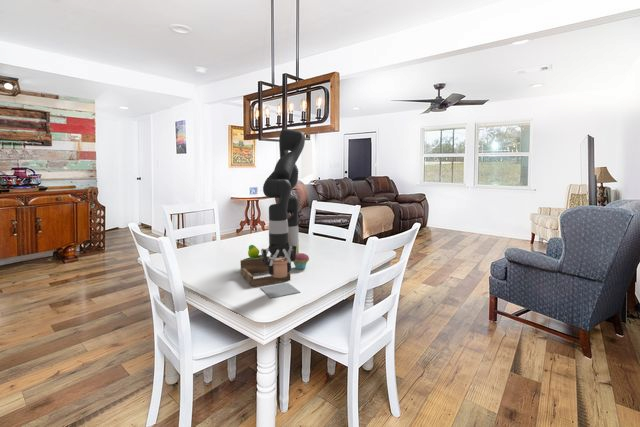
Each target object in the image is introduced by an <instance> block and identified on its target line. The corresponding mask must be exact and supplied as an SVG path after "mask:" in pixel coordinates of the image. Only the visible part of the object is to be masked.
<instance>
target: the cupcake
mask: <svg viewBox="0 0 640 427" xmlns="http://www.w3.org/2000/svg"><path fill="white" fill-rule="evenodd" d="M296 247H297V253H298V254H296V258H295V261H292V262H291V263H293V264H294V267H295V269H297V270H304V269H306V267H307V263H308V262H309V260H310V256H309V255H308V254H306V253H301V252H300V250H299V251H298V245H297V243H296Z"/></svg>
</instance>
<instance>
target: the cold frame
mask: <svg viewBox="0 0 640 427" xmlns="http://www.w3.org/2000/svg"><path fill="white" fill-rule="evenodd" d="M269 257H270V255H269V256H268V257H267V260H269ZM263 272H264V273H268V265H265V264H264V263H263V260H262V257H261V258H254V259H247V260H243V259H240V276H241V275H242V276H241V277H242V278H243V279H244V280H245V281H246V282H247V283H248V285H249V286H251V287H252V288H253V287H258V286H264V285H270V284H276V283H282V282H286V281H291V273H290V272H287V274H288V275H287V276H286V277H282V278H275V277H273V276H272V275H267V276H260V277H255V278H254V276H253V275H255V274H256V275H257V274H262V273H263ZM264 273H263V274H264Z"/></svg>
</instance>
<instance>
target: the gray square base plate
mask: <svg viewBox="0 0 640 427" xmlns="http://www.w3.org/2000/svg"><path fill="white" fill-rule="evenodd" d="M260 289H261V291H262V292H264V293H265V295H267V296H268V297H269V298H270V299H274V298H279V297H284V296H290V295H296V294H300V293H301V291H300V290H298V289H297V288H296V287H294V285H292V284H291V283H290V282H285V283H279V284H278V283H277V284H274V285H269V286H267V285H266V286H262V287H260Z"/></svg>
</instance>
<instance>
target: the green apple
mask: <svg viewBox="0 0 640 427" xmlns="http://www.w3.org/2000/svg"><path fill="white" fill-rule="evenodd" d="M259 253H260V250H259V248H258V247H257V246H256V245H254V244H250V245H248V251H247V254H248V257H246V258H244V259H242V260H247V259H254V258H261V257H262V254H259ZM267 257H269V256H268V255H267Z"/></svg>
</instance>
